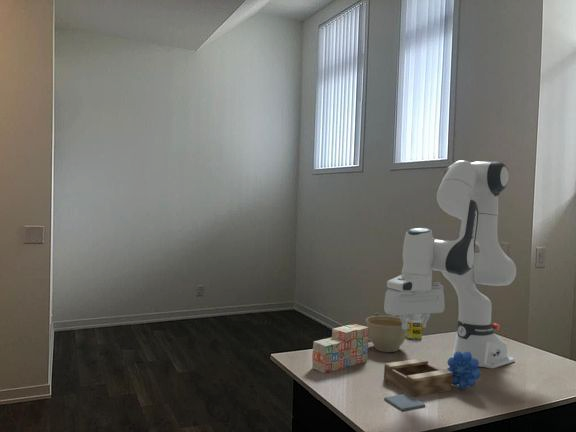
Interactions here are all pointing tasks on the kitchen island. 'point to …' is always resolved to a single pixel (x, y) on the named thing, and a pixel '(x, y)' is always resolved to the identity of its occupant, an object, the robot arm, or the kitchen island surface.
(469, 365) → the grapes
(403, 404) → the slate pad
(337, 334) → the stack of blocks
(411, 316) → the supplement bottle
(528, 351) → the kitchen island surface
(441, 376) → the crate
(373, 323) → the planter bowl
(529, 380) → the kitchen island surface
